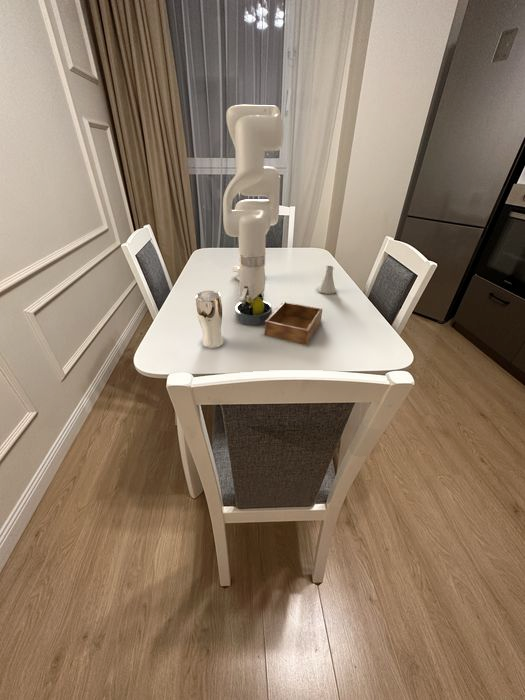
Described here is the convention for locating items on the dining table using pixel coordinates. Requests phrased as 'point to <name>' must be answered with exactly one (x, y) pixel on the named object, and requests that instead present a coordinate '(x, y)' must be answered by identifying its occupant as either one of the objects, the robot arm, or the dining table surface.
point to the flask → (327, 282)
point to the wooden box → (293, 322)
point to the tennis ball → (257, 305)
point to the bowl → (253, 319)
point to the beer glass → (210, 317)
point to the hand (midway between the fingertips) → (253, 312)
